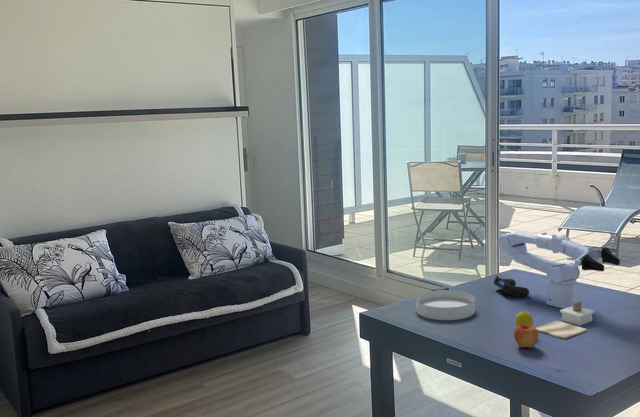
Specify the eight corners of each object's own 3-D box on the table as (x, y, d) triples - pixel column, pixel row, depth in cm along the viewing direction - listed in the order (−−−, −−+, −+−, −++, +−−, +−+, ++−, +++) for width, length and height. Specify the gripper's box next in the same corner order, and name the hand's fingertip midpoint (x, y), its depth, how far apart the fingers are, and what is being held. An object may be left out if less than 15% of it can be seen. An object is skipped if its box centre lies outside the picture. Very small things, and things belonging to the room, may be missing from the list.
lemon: (524, 337, 212) (524, 314, 211) (512, 332, 217) (511, 310, 216) (536, 334, 214) (536, 311, 213) (524, 329, 219) (524, 307, 218)
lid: (559, 314, 226) (560, 301, 225) (574, 309, 230) (574, 297, 229) (580, 320, 219) (580, 307, 218) (594, 314, 223) (594, 302, 222)
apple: (540, 351, 200) (540, 327, 199) (515, 351, 201) (515, 327, 200) (536, 342, 207) (536, 319, 206) (512, 342, 208) (512, 319, 207)
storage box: (562, 320, 226) (562, 312, 225) (574, 316, 230) (574, 308, 229) (579, 325, 220) (579, 317, 219) (592, 320, 224) (592, 312, 223)
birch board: (534, 329, 218) (534, 328, 218) (556, 321, 225) (556, 320, 225) (564, 339, 208) (564, 337, 208) (587, 330, 215) (587, 329, 215)
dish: (451, 325, 228) (450, 311, 227) (404, 312, 245) (403, 299, 244) (487, 309, 242) (487, 297, 242) (440, 298, 259) (440, 286, 258)
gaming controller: (508, 292, 270) (488, 282, 268) (515, 280, 269) (495, 270, 267) (525, 304, 253) (504, 293, 252) (532, 291, 253) (511, 280, 251)
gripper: (565, 247, 228) (597, 260, 216) (594, 236, 234) (626, 249, 222) (564, 265, 230) (595, 279, 219) (593, 254, 236) (625, 267, 225)
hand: (611, 265), depth 221 cm, fingers open, 7 cm apart
